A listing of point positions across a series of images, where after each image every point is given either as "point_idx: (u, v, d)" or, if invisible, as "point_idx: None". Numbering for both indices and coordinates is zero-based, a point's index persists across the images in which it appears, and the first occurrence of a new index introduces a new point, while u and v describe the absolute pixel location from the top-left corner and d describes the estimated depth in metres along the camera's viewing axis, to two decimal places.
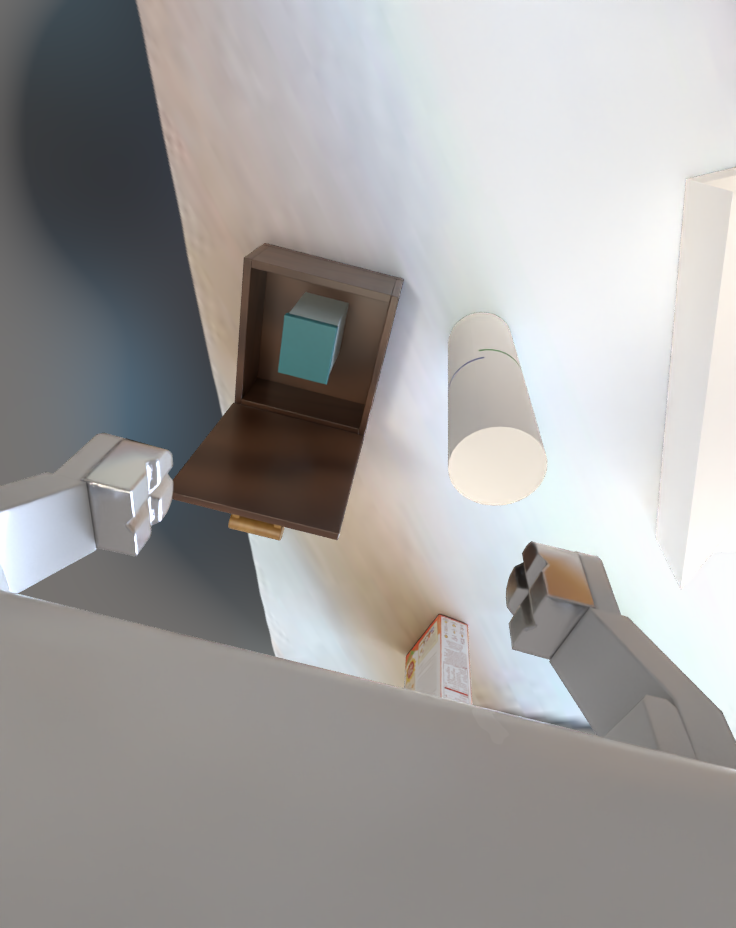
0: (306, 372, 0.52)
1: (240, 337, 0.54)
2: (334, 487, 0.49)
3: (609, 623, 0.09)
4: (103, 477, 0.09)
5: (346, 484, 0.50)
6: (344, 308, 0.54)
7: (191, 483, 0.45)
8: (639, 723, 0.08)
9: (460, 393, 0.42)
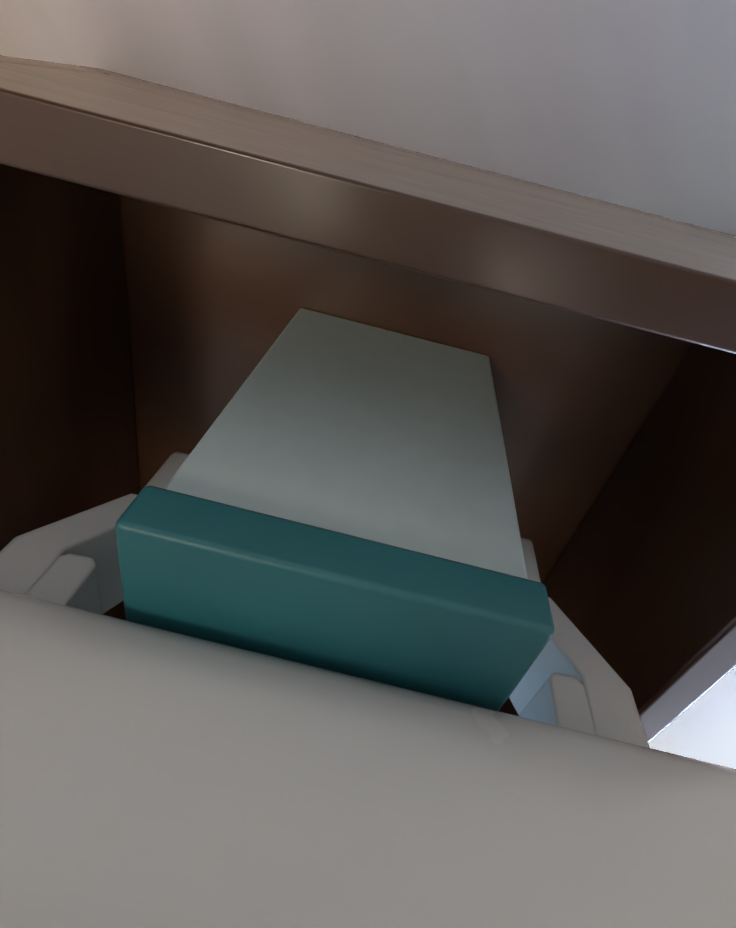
0: None
1: None
2: None
3: None
4: None
5: None
6: (489, 390, 0.11)
7: None
8: (545, 700, 0.08)
9: None
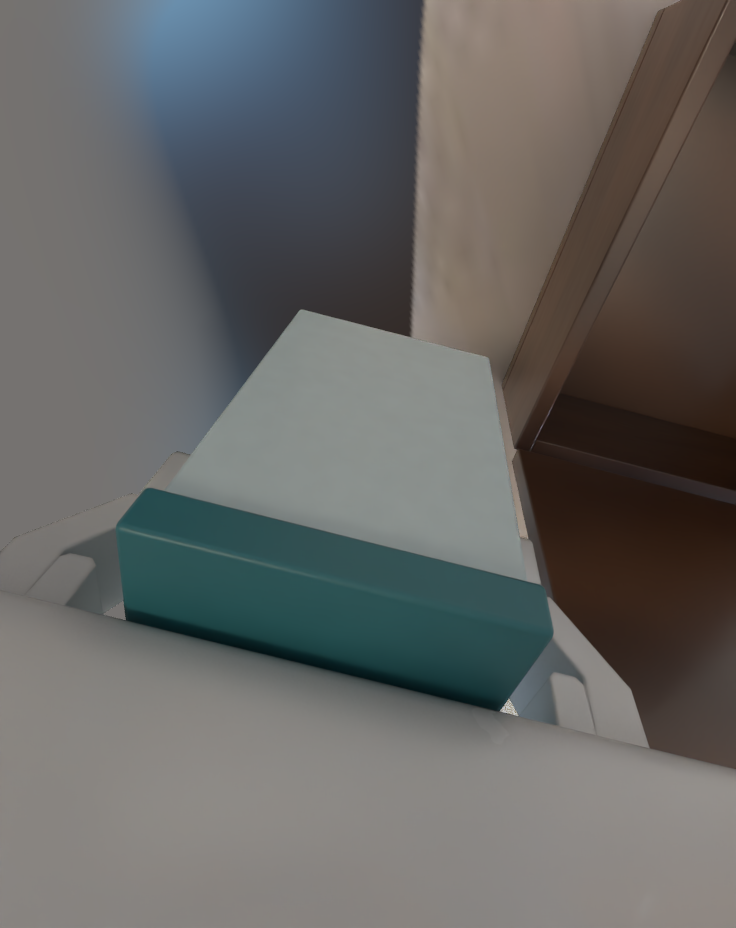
0: None
1: (602, 272, 0.19)
2: None
3: None
4: None
5: None
6: (489, 391, 0.11)
7: None
8: (545, 700, 0.08)
9: None
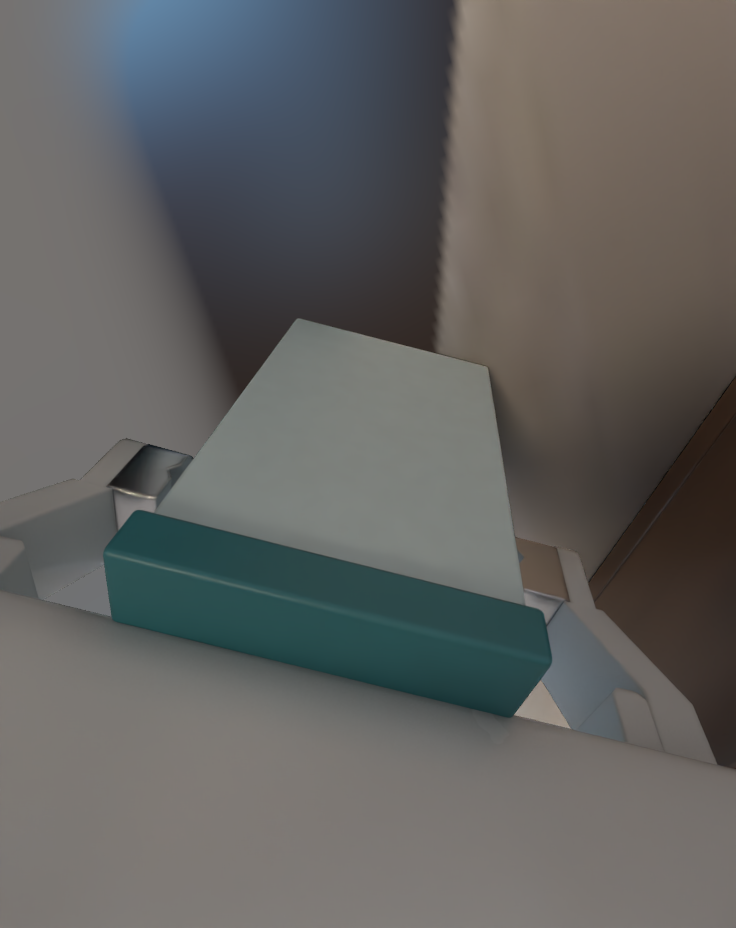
0: None
1: None
2: None
3: (583, 617, 0.09)
4: (128, 483, 0.09)
5: None
6: (488, 403, 0.11)
7: None
8: (608, 715, 0.08)
9: None
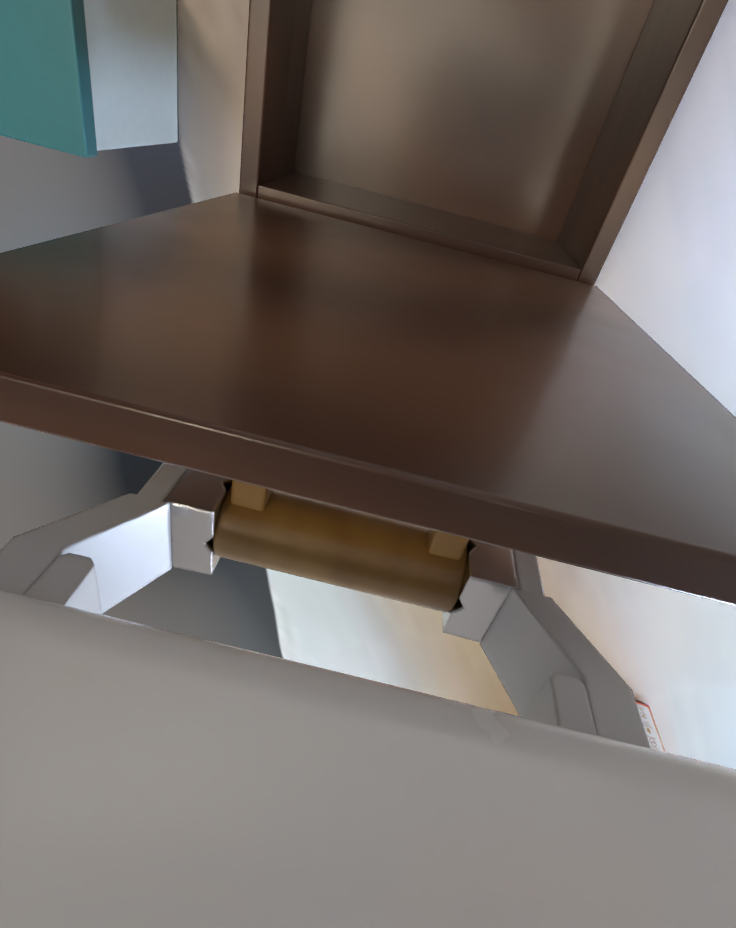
0: (25, 118, 0.19)
1: None
2: (654, 383, 0.12)
3: (530, 603, 0.09)
4: (185, 497, 0.09)
5: (682, 379, 0.13)
6: None
7: None
8: (546, 700, 0.08)
9: None
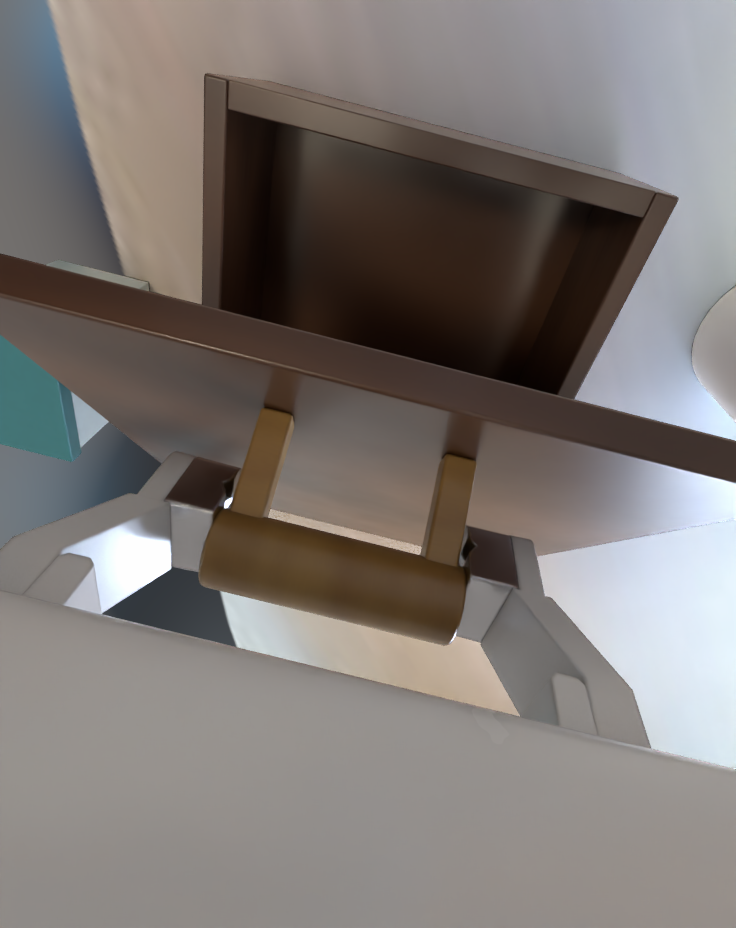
0: (21, 436, 0.23)
1: None
2: None
3: (530, 603, 0.09)
4: (185, 497, 0.09)
5: None
6: None
7: None
8: (547, 700, 0.08)
9: None
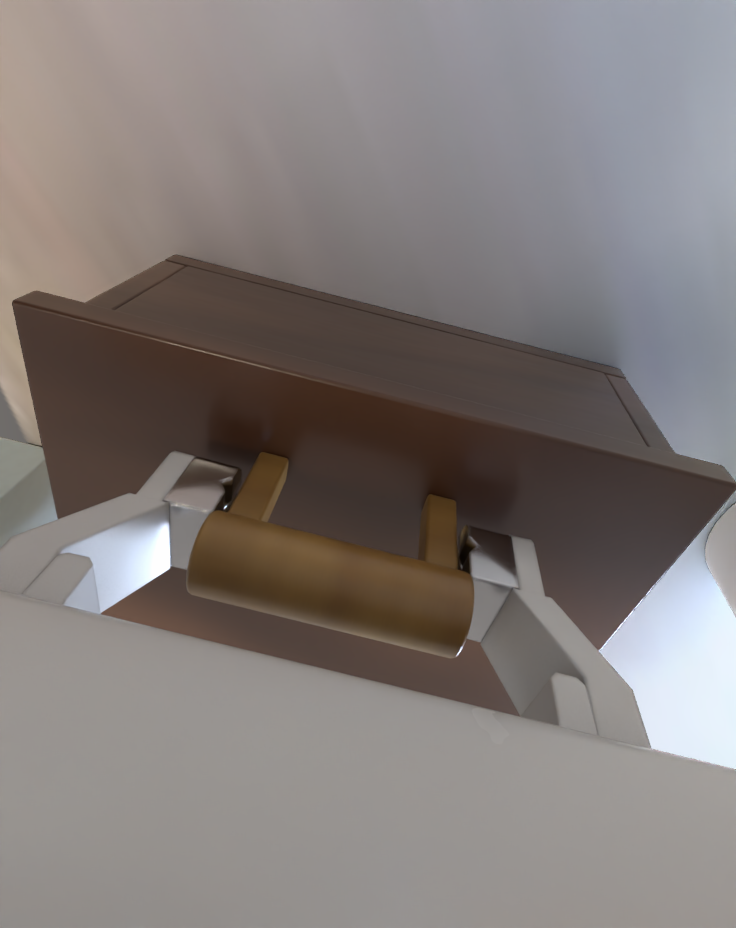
0: None
1: None
2: None
3: (530, 604, 0.09)
4: (184, 497, 0.09)
5: None
6: (20, 476, 0.21)
7: None
8: (546, 700, 0.08)
9: None
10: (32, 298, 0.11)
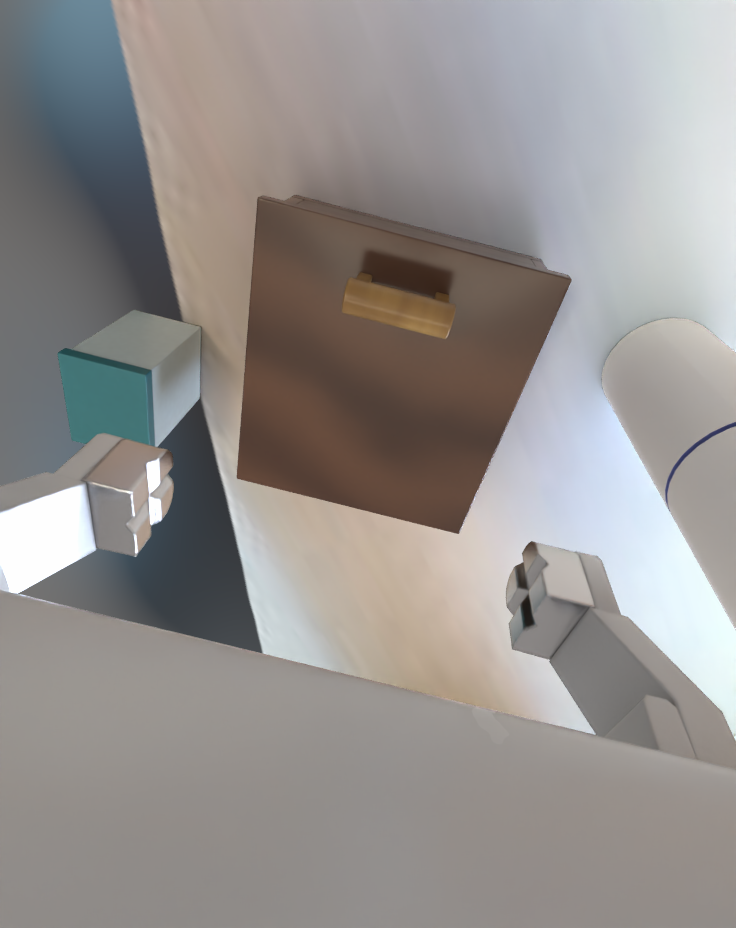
0: None
1: None
2: None
3: (609, 623, 0.09)
4: (103, 477, 0.09)
5: None
6: (187, 336, 0.35)
7: None
8: (639, 723, 0.08)
9: None
10: (264, 197, 0.24)
